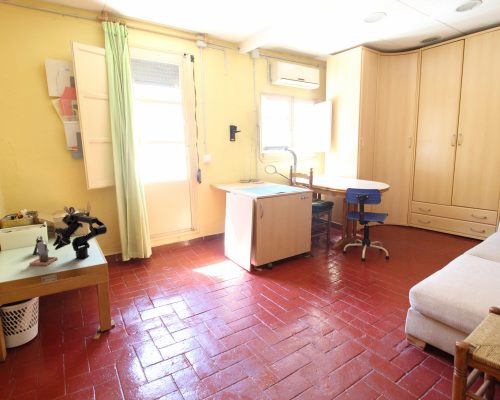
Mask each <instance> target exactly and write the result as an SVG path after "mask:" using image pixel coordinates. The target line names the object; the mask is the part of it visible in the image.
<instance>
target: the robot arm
mask: <svg viewBox="0 0 500 400" xmlns="http://www.w3.org/2000/svg"><path fill="white" fill-rule="evenodd" d="M61 221H62V223H64V224H65V225H66V226H67V227H64V228H63V227H59V226H54V228H53V233H54V234H56V238H55V241H54V242H53V243H52V246H53V247H55V248H54V250H55V251H57V250H60V249H62V248H64V247H66V246H68V245H70V244H71V245H72V248H73V249H72V250H73V251H74V252H75V260H85V259H87V258H88V257H90V254H89V251H88V249H90V244H89V241H91V240H93V239H94V238H96V237H98V236H102V235H105V234H107V231H108V229H107V226H106V225H105V223H104V222H102V221H101V220H100V219H98V217H97V216H89V215H84V213H82V212H74V213H70V214H65V216H64V217H62V219H61ZM83 223H85V224H88V225H89V231H90V232H89V233H87V234H84V235H80V236H76V237H75V238H73V240H71V238H72V236H73V235H75V233H76V232H77V230H79V228H81V229H82V228H84V226H83ZM93 224H95V225H97V226H93Z"/></svg>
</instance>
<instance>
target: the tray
mask: <svg viewBox="0 0 500 400" xmlns="http://www.w3.org/2000/svg"><path fill="white" fill-rule="evenodd" d="M48 258H49V261H48V262H46V263H40V261H39V257H38V258H36V259H34V260H32V261H30V262H29V264H28V265H29V266H33V267H34V266H35V267H36V266H37V267H47V266H49V265H50V264H53V263H54V262H56V261H58V259H59V257H58V256H48Z"/></svg>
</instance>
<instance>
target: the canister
mask: <svg viewBox="0 0 500 400" xmlns="http://www.w3.org/2000/svg"><path fill="white" fill-rule="evenodd" d="M37 246H38V249H37V252H38V253H39V255H38V258H39V261H40V263H46V262H48V261H49V258H48V257H49V252H48V250H49V249H48V250H47V248H48V244H47V242H46V241H43V242H39V243H37Z"/></svg>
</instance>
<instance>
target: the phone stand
mask: <svg viewBox="0 0 500 400" xmlns="http://www.w3.org/2000/svg"><path fill="white" fill-rule="evenodd" d="M35 241H36V243H35V246H34V250H33V253H32V256H33V257H34V256H39V253H38V246H37V243H39V242H44V240H43V236H41V235H40V236H37V237H36V239H35ZM47 250H48V253H49V252H50V251H49V250H50V249H48V247H47Z"/></svg>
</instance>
